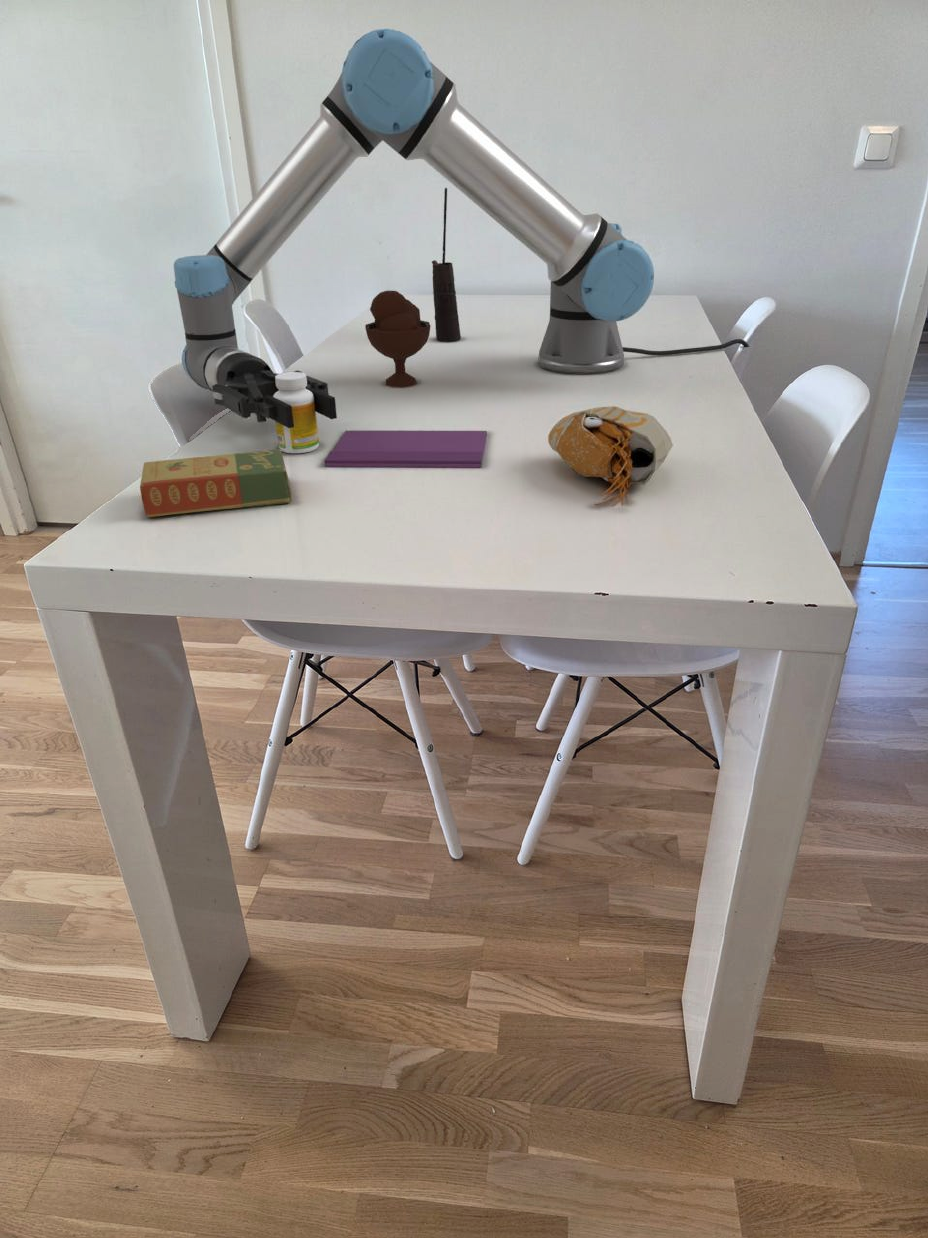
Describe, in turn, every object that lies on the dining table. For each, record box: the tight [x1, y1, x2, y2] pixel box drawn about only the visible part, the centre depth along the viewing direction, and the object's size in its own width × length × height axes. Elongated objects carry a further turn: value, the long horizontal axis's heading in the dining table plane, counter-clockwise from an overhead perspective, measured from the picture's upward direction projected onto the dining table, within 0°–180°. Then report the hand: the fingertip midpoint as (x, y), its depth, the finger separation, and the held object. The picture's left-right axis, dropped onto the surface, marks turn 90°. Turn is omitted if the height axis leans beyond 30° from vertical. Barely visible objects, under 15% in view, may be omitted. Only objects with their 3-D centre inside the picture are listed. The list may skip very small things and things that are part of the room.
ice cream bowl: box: [365, 290, 432, 388], centre depth 139 cm, size 11×11×15 cm
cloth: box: [324, 430, 488, 468], centre depth 112 cm, size 20×14×1 cm
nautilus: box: [547, 405, 674, 507], centre depth 98 cm, size 8×22×15 cm
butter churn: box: [431, 187, 462, 343], centre depth 167 cm, size 9×10×28 cm
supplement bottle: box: [273, 371, 320, 454], centre depth 111 cm, size 5×5×10 cm
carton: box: [139, 449, 293, 518], centre depth 97 cm, size 8×16×4 cm, turn 105°
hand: (311, 412), depth 107 cm, fingers closed on supplement bottle, 5 cm apart
